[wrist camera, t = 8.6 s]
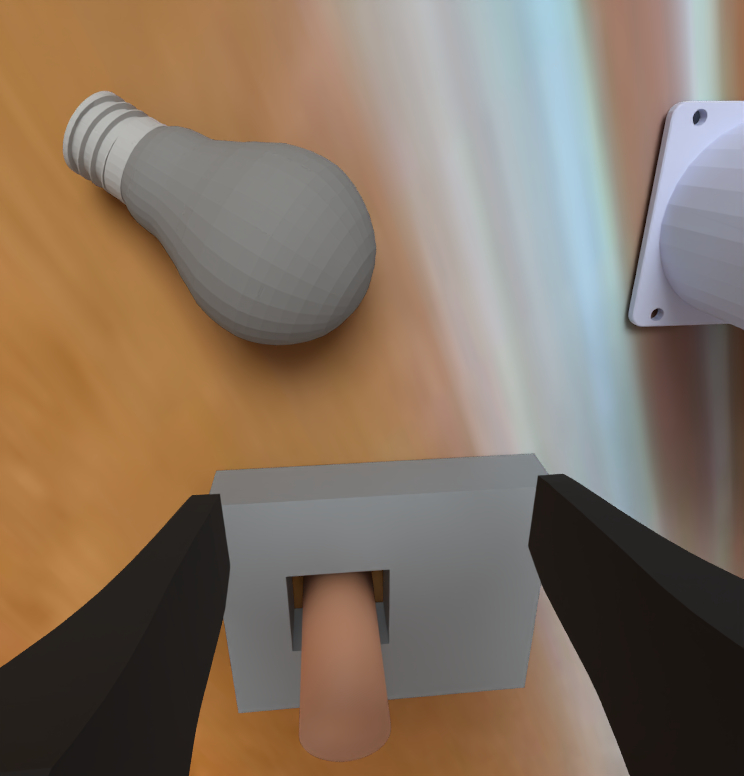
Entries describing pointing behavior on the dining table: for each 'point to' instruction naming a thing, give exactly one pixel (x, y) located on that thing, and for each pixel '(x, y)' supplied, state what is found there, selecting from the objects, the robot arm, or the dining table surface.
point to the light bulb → (235, 219)
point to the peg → (341, 669)
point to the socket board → (385, 569)
